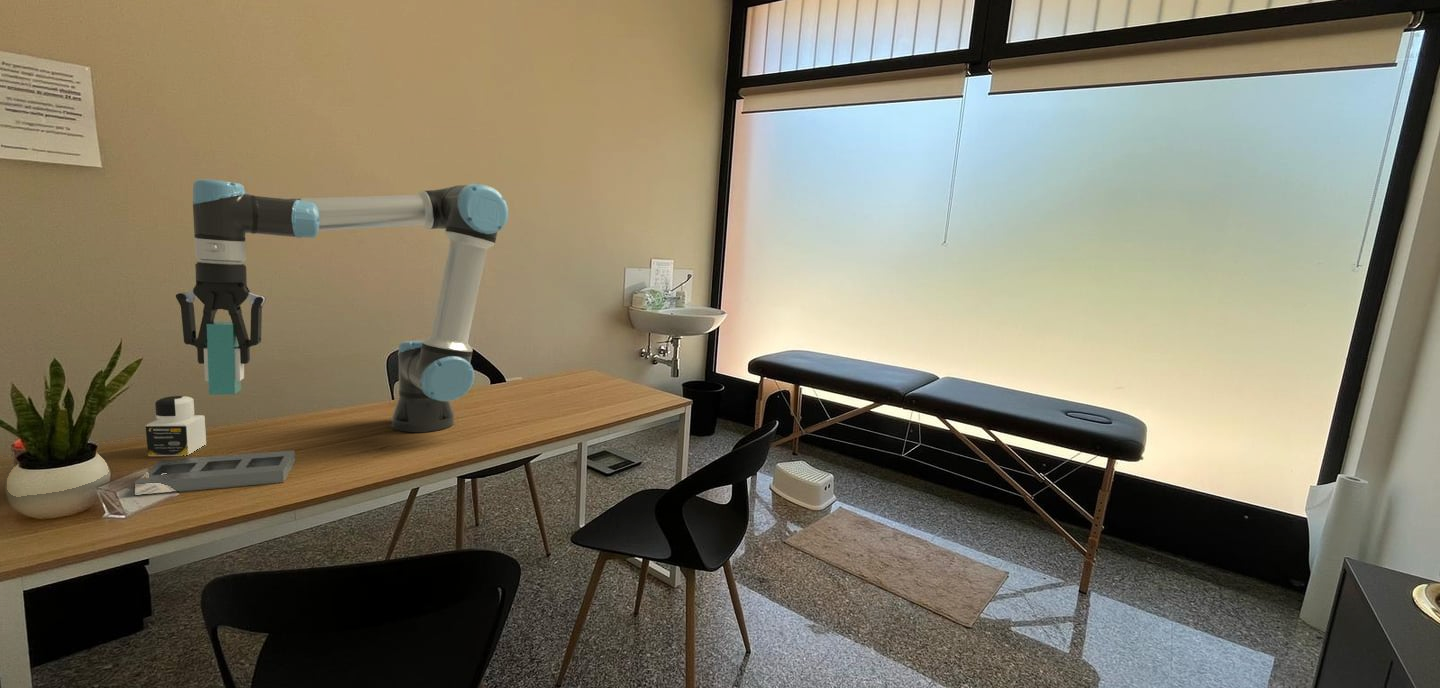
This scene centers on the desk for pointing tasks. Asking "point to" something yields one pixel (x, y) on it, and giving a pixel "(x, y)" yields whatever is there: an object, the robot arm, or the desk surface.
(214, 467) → the rail
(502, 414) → the desk surface
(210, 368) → the peg
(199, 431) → the medicine bottle
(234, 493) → the desk surface
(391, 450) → the desk surface
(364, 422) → the desk surface
